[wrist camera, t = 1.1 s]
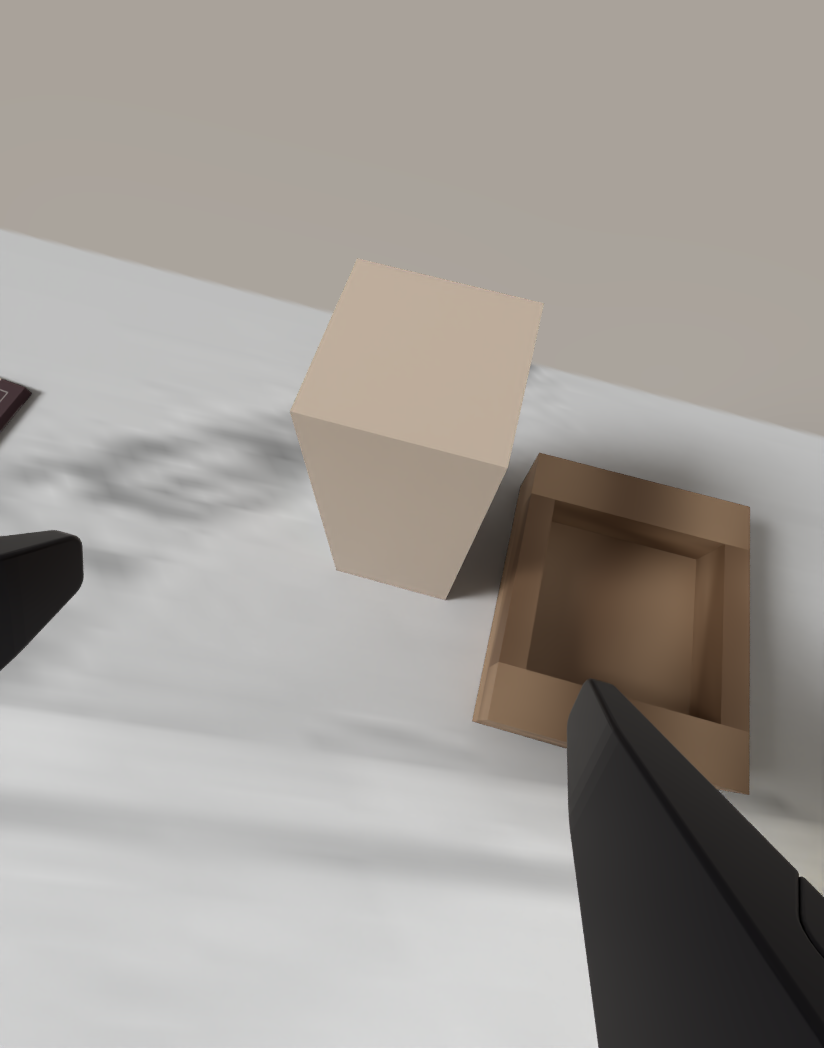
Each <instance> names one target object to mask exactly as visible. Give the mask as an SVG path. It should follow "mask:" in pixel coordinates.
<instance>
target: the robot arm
mask: <svg viewBox="0 0 824 1048" xmlns="http://www.w3.org/2000/svg"><path fill="white" fill-rule="evenodd" d="M83 577H84V573H83V549H82V542H81V540H80V538H78V537H77V536H75V535H72V534H68V533H65V532H61V531H57V530H50V531H42V532H34V533H25V534H17V535H9V536H0V671H1V670H2V669H3V668H4V667H5V666H6V665H7V664H8V663H9V662H10V661H12V660H13V659H14V658H15V657H16V656H17V655H18V654H19V653H20V652H21V651H22V650H23V649H24V648H25V647H26V646H27V645H28V644H29V642H30V641H31V640H32V639H33V638H34V637H35V636H36V635H37V634H38V633H39V632H40V631H41V630H42V629H43V628H44V627H45V625H46V624H47V623H48V622H49V621H50V620H51V619H52V618H53V617H54V616H55V615H56V614H57V613H58V612H59V611H60V610H61V608H62V607H63V606H64V605H65V604H66V603H67V602H68V601H69V600H70V599H71V598H72V597H73V596H74V595H75V594H76V592H77V591H78V590H79V588H80V587H81V585H82V582H83ZM567 770H568V811H569V824H570V834H571V841H572V849H573V857H574V864H575V872H576V879H577V887H578V895H579V902H580V910H581V918H582V925H583V933H584V940H585V948H586V956H587V963H588V971H589V978H590V986H591V994H592V1001H593V1009H594V1017H595V1024H596V1032H597V1039H598V1047H599V1048H824V897H823V896H822V895H821V894H820V893H819V892H818V891H817V890H816V889H815V888H814V887H813V886H812V885H811V884H810V883H809V882H808V881H807V880H806V879H805V878H804V877H799V873H798V871H797V870H796V869H795V868H794V867H793V866H792V865H791V864H790V863H789V862H788V861H787V860H786V859H785V858H784V857H783V856H782V855H781V854H780V853H779V852H778V851H777V850H776V849H775V848H774V847H773V846H772V845H771V844H770V842H769V841H768V840H767V839H766V838H765V837H764V836H763V835H762V834H761V833H760V832H759V831H758V830H757V829H756V828H755V827H754V826H753V825H752V824H751V823H750V822H749V821H748V820H747V819H746V818H745V817H744V816H743V815H742V814H741V813H740V812H739V811H738V810H737V809H736V808H735V807H734V806H733V805H732V804H731V803H730V802H729V801H728V800H727V799H726V798H725V797H724V796H723V795H722V794H721V793H720V792H719V791H718V790H717V789H716V788H715V787H714V786H713V785H712V784H711V783H710V782H709V781H708V780H707V779H706V778H705V777H704V776H703V775H702V774H701V773H700V772H699V771H698V770H697V769H696V768H695V767H694V766H693V765H692V764H691V763H690V762H689V761H688V760H687V759H686V758H685V757H684V756H683V755H682V754H681V753H680V752H679V750H678V749H677V748H676V747H675V746H674V745H673V744H672V743H671V742H670V741H669V740H668V739H667V738H666V737H665V736H664V735H663V734H662V733H661V732H660V731H659V730H658V729H657V728H656V727H655V726H654V725H653V724H652V723H651V722H650V721H649V720H648V719H647V718H646V717H645V716H644V715H643V714H642V713H641V712H640V711H639V710H638V709H637V708H636V707H635V706H634V705H633V704H632V703H631V702H630V701H629V700H628V699H627V698H626V697H625V696H624V695H623V694H622V693H621V692H620V691H619V690H618V689H617V688H616V687H615V686H614V685H613V684H610V683H607V682H603V681H600V680H596V679H592V678H590V679H587V680H586V681H585V682H584V684H583V685H582V688H581V690H580V692H579V694H578V696H577V699H576V701H575V703H574V705H573V707H572V710H571V712H570V714H569V717H568V722H567Z"/></svg>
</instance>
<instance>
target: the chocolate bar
mask: <svg viewBox="0 0 824 1048" xmlns="http://www.w3.org/2000/svg"><path fill="white" fill-rule="evenodd" d="M31 394H32V393H31V392H30V391H29V390H28V389H27V388H26V387H23V386H20V385H18V384H15V383H12V382H9V381H6V380H4V379H1V378H0V432H1V431H2V430H3V428H4V427H5V426H6V425H7V424H8V422H9V421H10V420H11V419H12V417H13V416H14V415H15V414H16V413H17V411H18V410H19V409H20V408H21V406H22V405H23V404H24V403H25V401H26V400H27V399H28V398H29V397H30V395H31Z"/></svg>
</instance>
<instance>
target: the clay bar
mask: <svg viewBox="0 0 824 1048" xmlns="http://www.w3.org/2000/svg"><path fill="white" fill-rule="evenodd" d="M543 306H544V304H543V303H540V302H535V301H531V300H527V299H523V298H519V297H515V296H511V295H507V294H503V293H498V292H494V291H490V290H486V289H482V288H478V287H474V286H470V285H465V284H461V283H457V282H453V281H449V280H445V279H441V278H436V277H432V276H428V275H424V274H420V273H415V272H412V271H407V270H403V269H399V268H395V267H391V266H387V265H383V264H378V263H374V262H370V261H366V260H362V259H357V260H356V262H355V264H354V267H353V269H352V271H351V274H350V276H349V278H348V281H347V283H346V285H345V287H344V289H343V292H342V294H341V296H340V299H339V301H338V303H337V305H336V308H335V310H334V312H333V315H332V317H331V319H330V321H329V324H328V326H327V328H326V331H325V333H324V335H323V337H322V340H321V342H320V344H319V347H318V349H317V351H316V353H315V356H314V358H313V360H312V362H311V365H310V367H309V369H308V372H307V374H306V376H305V378H304V381H303V383H302V385H301V388H300V390H299V392H298V394H297V397H296V399H295V401H294V404H293V406H292V408H291V410H290V413H291V417H292V420H293V424H294V427H295V430H296V434H297V437H298V441H299V444H300V447H301V451H302V454H303V458H304V461H305V464H306V468H307V471H308V475H309V478H310V482H311V485H312V488H313V492H314V495H315V499H316V502H317V505H318V509H319V512H320V516H321V519H322V522H323V526H324V529H325V533H326V536H327V539H328V543H329V546H330V550H331V553H332V557H333V560H334V563H335V567H336V570H338V571H341V572H345V573H349V574H352V575H356V576H360V577H363V578H367V579H370V580H374V581H378V582H381V583H385V584H389V585H392V586H396V587H399V588H403V589H407V590H410V591H414V592H418V593H421V594H425V595H429V596H432V597H436V598H439V599H443V600H446V597H447V595H448V593H449V591H450V589H451V587H452V585H453V583H454V581H455V578H456V576H457V574H458V572H459V570H460V568H461V566H462V564H463V561H464V559H465V557H466V555H467V553H468V551H469V549H470V547H471V545H472V542H473V540H474V538H475V536H476V534H477V532H478V530H479V528H480V526H481V523H482V521H483V519H484V517H485V515H486V513H487V511H488V509H489V507H490V504H491V502H492V500H493V498H494V496H495V494H496V492H497V490H498V488H499V485H500V483H501V481H502V479H503V477H504V475H505V473H506V471H507V469H508V464H509V460H510V455H511V451H512V446H513V442H514V437H515V433H516V428H517V424H518V419H519V415H520V410H521V405H522V401H523V396H524V392H525V387H526V383H527V378H528V374H529V369H530V365H531V360H532V355H533V351H534V346H535V342H536V337H537V332H538V328H539V324H540V319H541V314H542V310H543Z"/></svg>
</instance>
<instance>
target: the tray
mask: <svg viewBox="0 0 824 1048" xmlns="http://www.w3.org/2000/svg"><path fill="white" fill-rule="evenodd" d="M590 678H592V679H596V680H600V681H603V682H607V683H610V684H613V685H614V686H615V687H616V688H617V689H618V690H619V691H620V692H621V693H622V694H623V695H624V696H625V697H626V698H627V699H628V700H629V701H630V702H631V703H632V704H633V705H634V706H635V707H636V708H637V709H638V710H639V711H640V712H641V713H642V714H643V715H644V716H645V717H646V718H647V719H648V720H649V721H650V722H651V723H652V724H653V725H654V726H655V727H656V728H657V729H658V730H659V731H660V732H661V733H662V734H663V735H664V736H665V737H666V738H667V739H668V740H669V741H670V742H671V743H672V744H673V745H674V746H675V747H676V748H677V749H678V750H679V752H680V753H681V754H682V755H683V756H684V757H685V758H686V759H687V760H688V761H689V762H690V763H691V764H692V765H693V766H694V767H695V768H696V769H697V770H698V771H699V772H700V773H701V774H702V775H703V776H704V777H705V778H706V779H707V780H708V781H709V782H710V783H711V784H712V785H713V786H714V787H715V788H716V789H719V790H725V791H730V792H736V793H742V794H747V795H749V686H750V507H748V506H744V505H740V504H736V503H733V502H729V501H725V500H721V499H717V498H713V497H709V496H705V495H702V494H698V493H694V492H690V491H686V490H682V489H678V488H674V487H670V486H667V485H663V484H659V483H655V482H651V481H647V480H643V479H639V478H636V477H632V476H628V475H624V474H620V473H616V472H612V471H608V470H605V469H601V468H597V467H593V466H589V465H585V464H581V463H577V462H573V461H570V460H566V459H562V458H558V457H554V456H550V455H546V454H542V453H539V454H538V456H537V458H536V460H535V461H534V463H533V465H532V467H531V468H530V470H529V472H528V474H527V476H526V477H525V479H524V481H523V483H522V484H521V486H520V491H519V496H518V501H517V505H516V510H515V515H514V520H513V525H512V530H511V535H510V540H509V544H508V549H507V554H506V559H505V564H504V569H503V574H502V579H501V583H500V588H499V593H498V598H497V603H496V608H495V613H494V617H493V622H492V627H491V632H490V637H489V642H488V647H487V652H486V656H485V661H484V666H483V671H482V676H481V681H480V686H479V691H478V695H477V700H476V705H475V710H474V715H473V720H472V721H473V722H477V723H480V724H484V725H487V726H491V727H494V728H498V729H501V730H504V731H508V732H511V733H515V734H518V735H522V736H525V737H529V738H532V739H536V740H539V741H543V742H546V743H550V744H553V745H557V746H560V747H564V748H567V722H568V717H569V714H570V712H571V710H572V707H573V705H574V703H575V701H576V699H577V696H578V694H579V692H580V690H581V688H582V685H583V684H584V682H585V681H586V680H587V679H590Z"/></svg>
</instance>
